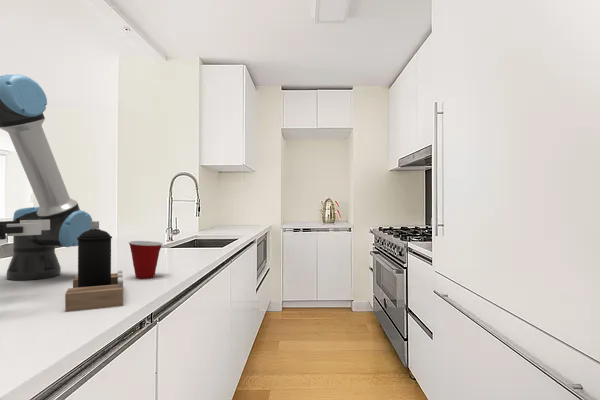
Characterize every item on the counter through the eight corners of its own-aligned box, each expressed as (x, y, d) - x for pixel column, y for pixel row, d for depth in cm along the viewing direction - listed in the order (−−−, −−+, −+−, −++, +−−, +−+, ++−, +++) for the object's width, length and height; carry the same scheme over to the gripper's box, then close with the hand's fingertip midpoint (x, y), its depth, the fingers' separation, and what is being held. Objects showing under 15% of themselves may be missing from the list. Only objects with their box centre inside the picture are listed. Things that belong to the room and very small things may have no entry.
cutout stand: (75, 290, 111) (75, 271, 111) (122, 286, 116) (122, 268, 116) (65, 311, 89) (65, 288, 90) (123, 305, 95) (123, 284, 95)
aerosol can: (102, 301, 98) (102, 222, 99) (69, 301, 99) (69, 222, 99) (117, 293, 107) (118, 220, 107) (87, 293, 107) (88, 220, 107)
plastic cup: (161, 279, 127) (162, 242, 127) (125, 281, 124) (125, 243, 124) (164, 273, 137) (164, 239, 137) (130, 275, 134) (130, 240, 134)
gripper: (-45, 241, 100) (53, 236, 109) (-91, 254, 77) (36, 247, 86) (-45, 211, 100) (52, 209, 109) (-92, 216, 77) (36, 213, 86)
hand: (45, 226), depth 98 cm, fingers open, 13 cm apart
